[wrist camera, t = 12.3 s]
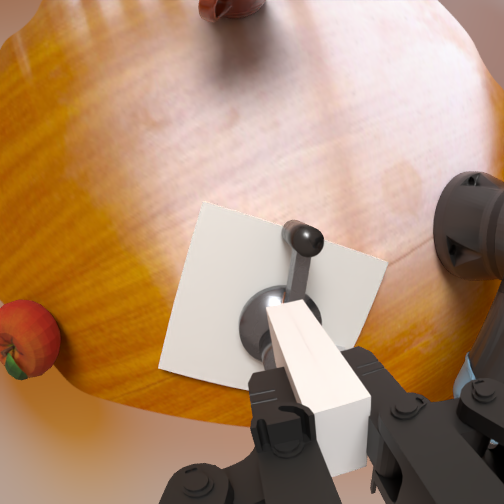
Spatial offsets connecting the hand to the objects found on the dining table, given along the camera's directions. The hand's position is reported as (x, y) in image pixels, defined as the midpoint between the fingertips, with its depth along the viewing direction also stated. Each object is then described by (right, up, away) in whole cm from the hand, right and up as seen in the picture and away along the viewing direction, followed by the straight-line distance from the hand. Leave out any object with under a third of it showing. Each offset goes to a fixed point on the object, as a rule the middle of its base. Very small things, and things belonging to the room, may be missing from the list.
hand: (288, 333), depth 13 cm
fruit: (-29, -6, +21) cm, 37 cm away
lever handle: (+2, -3, +22) cm, 22 cm away
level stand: (+1, -4, +24) cm, 24 cm away
